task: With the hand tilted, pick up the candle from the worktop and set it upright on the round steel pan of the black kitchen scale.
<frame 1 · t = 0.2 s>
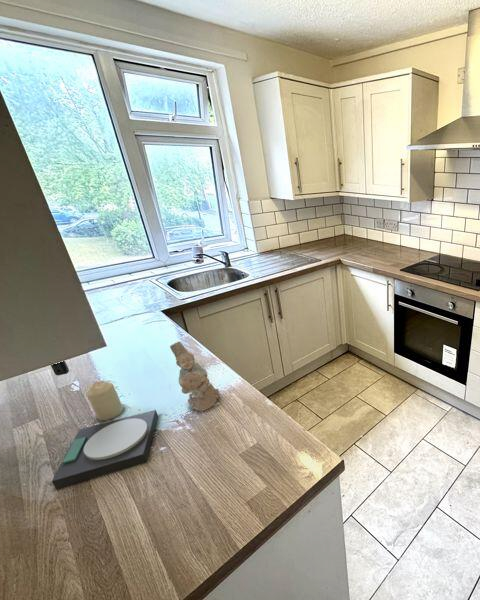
hand: (70, 364, 77), 20 cm above the countertop, tool pointing down, fingers open, 8 cm apart
kitchen scale: (113, 448, 80), on the countertop
figurine: (204, 402, 95), on the countertop
candle: (111, 413, 90), on the countertop
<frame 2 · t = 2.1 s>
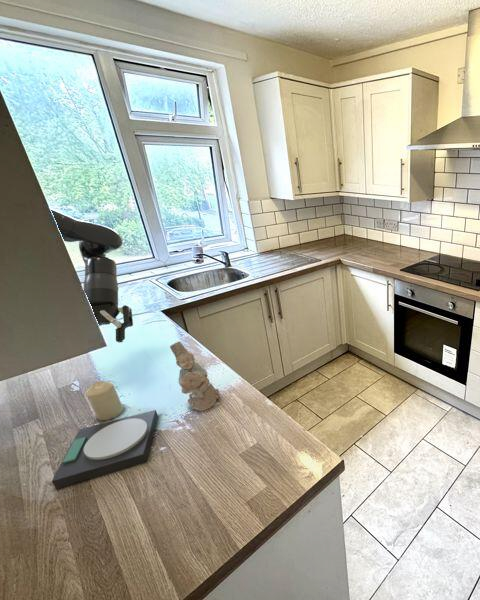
hand: (101, 344, 92), 17 cm above the countertop, tool tilted 40°, fingers open, 8 cm apart
nothing on the countertop moved.
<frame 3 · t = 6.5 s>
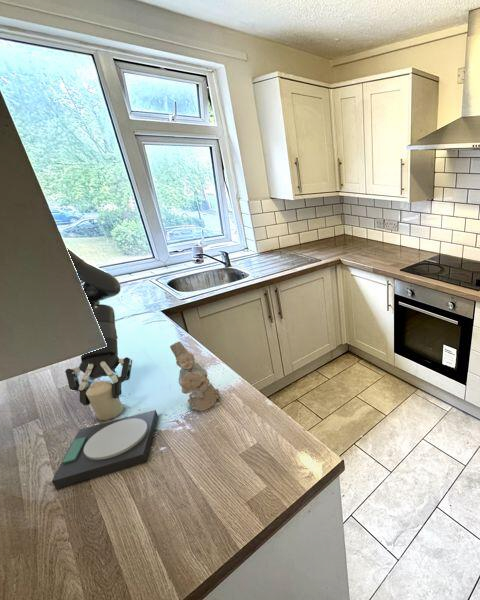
hand: (101, 400, 87), 6 cm above the countertop, tool tilted 45°, fingers closed on candle, 5 cm apart
candle: (111, 413, 90), on the countertop, touching gripper
everything else where it was.
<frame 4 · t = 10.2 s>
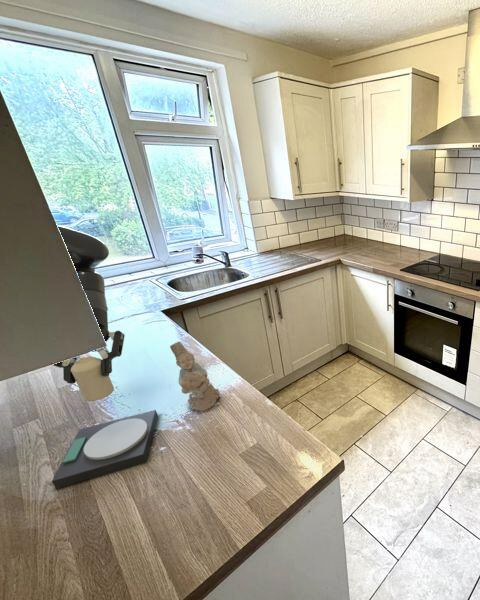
hand: (88, 379, 76), 18 cm above the countertop, tool tilted 45°, fingers closed on candle, 5 cm apart
candle: (100, 394, 80), point 12 cm above the countertop, touching gripper
everything else where it was.
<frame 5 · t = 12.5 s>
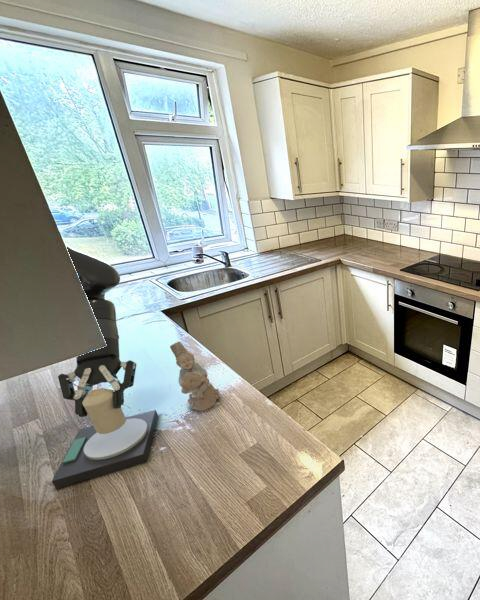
hand: (100, 411, 74), 12 cm above the countertop, tool tilted 45°, fingers closed on candle, 5 cm apart
candle: (112, 426, 78), point 6 cm above the countertop, touching gripper
everything else where it was.
when the fingers open (9 cm above the countertop, at t = 14.0 s): candle stays where it is, resting on kitchen scale.
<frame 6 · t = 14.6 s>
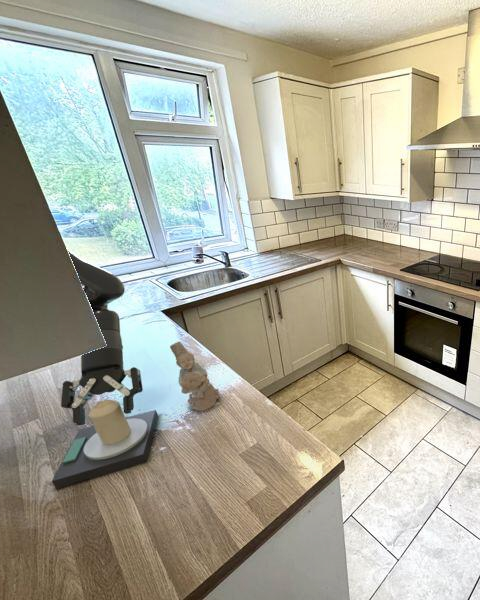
hand: (104, 418, 75), 10 cm above the countertop, tool tilted 45°, fingers open, 8 cm apart
candle: (117, 436, 79), point 3 cm above the countertop, touching kitchen scale
everything else where it was.
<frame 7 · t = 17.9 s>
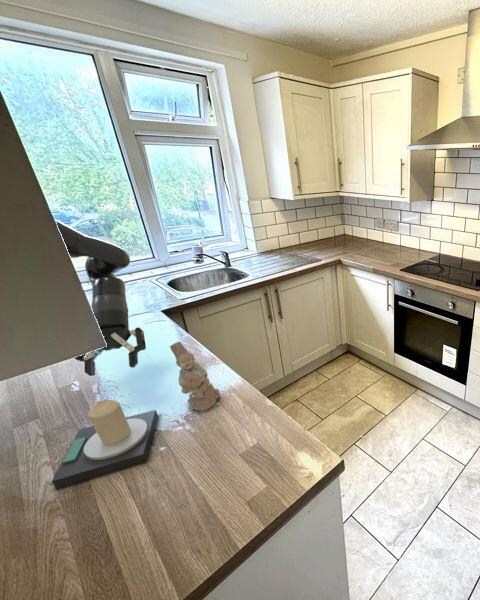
hand: (112, 370, 85), 14 cm above the countertop, tool tilted 45°, fingers open, 8 cm apart
nothing on the countertop moved.
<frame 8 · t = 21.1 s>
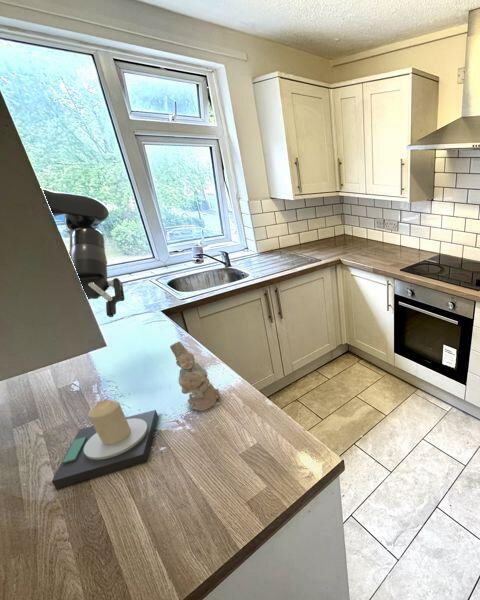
hand: (89, 319, 84), 27 cm above the countertop, tool tilted 45°, fingers open, 8 cm apart
nothing on the countertop moved.
at the end: candle inside the target area on the kitchen scale (0.2 cm from its centre), point 3.0 cm above the kitchen scale's base; candle tilted 0°; the gripper is holding nothing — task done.
